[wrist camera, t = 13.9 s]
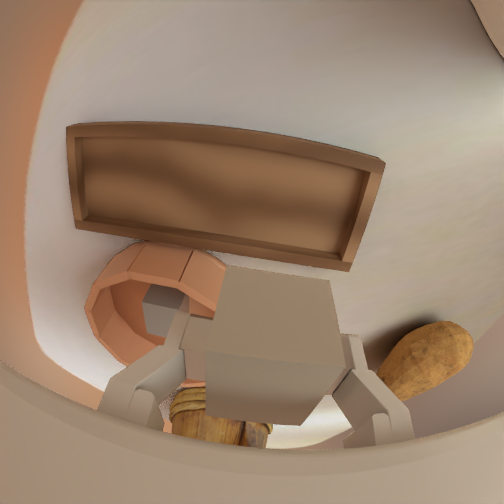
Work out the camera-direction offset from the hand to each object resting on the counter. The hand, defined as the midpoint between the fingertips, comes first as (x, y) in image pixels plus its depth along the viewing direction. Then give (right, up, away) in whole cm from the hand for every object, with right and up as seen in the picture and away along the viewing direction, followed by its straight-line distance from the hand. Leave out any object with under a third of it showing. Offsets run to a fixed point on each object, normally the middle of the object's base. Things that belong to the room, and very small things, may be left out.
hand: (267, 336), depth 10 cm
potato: (+21, -8, +21) cm, 30 cm away
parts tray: (-4, +8, +12) cm, 15 cm away
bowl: (-9, -3, +20) cm, 22 cm away
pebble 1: (-9, -2, +18) cm, 20 cm away
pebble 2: (0, +1, +1) cm, 1 cm away
